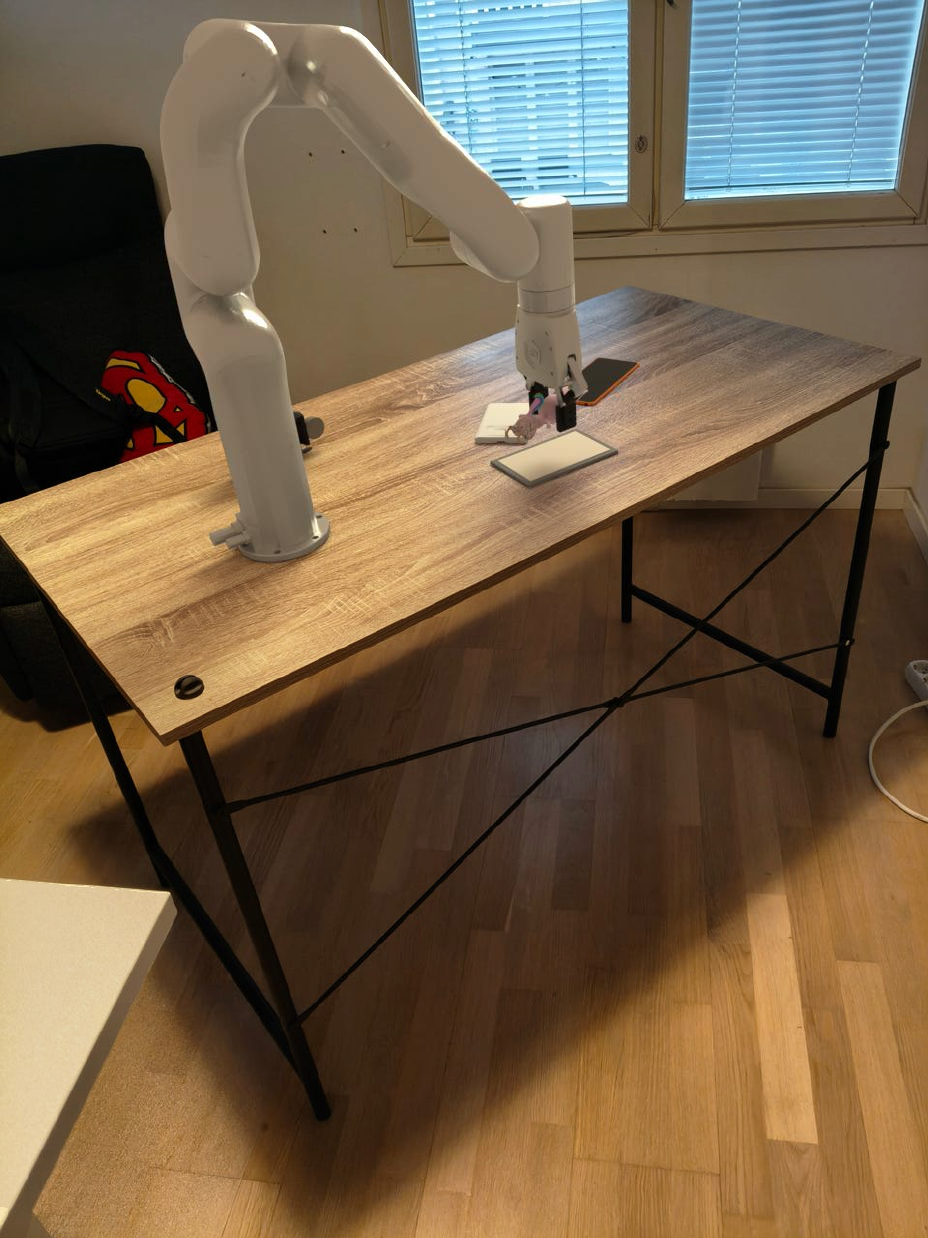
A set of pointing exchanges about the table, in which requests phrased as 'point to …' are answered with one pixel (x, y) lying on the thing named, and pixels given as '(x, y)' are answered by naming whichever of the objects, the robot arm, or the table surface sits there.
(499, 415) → the external hard drive
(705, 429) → the table surface
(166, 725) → the table surface
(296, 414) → the figurine character
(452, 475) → the table surface
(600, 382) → the smartphone
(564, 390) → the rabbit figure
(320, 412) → the table surface
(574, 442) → the mat
